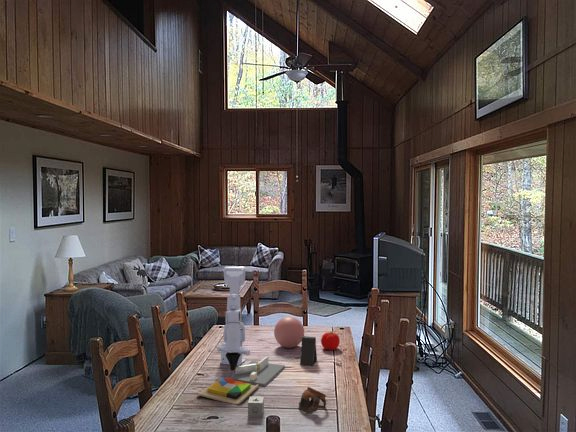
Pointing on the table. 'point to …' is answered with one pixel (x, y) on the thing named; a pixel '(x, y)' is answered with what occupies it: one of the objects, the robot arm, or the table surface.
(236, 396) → the wooden puzzle
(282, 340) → the balloon
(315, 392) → the pottery mug
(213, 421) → the table surface
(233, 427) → the table surface
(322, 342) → the tomato
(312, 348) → the phone stand
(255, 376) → the hinge base
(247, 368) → the hinge leaf
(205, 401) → the table surface
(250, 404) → the dice cube
